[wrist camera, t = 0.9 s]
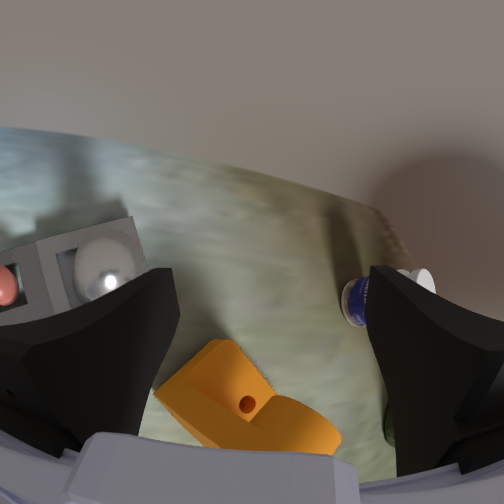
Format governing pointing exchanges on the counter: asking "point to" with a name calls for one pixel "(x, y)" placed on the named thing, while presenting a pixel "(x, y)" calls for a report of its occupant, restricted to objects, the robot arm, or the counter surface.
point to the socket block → (53, 271)
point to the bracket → (241, 406)
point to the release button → (8, 287)
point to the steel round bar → (105, 263)
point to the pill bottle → (357, 294)
